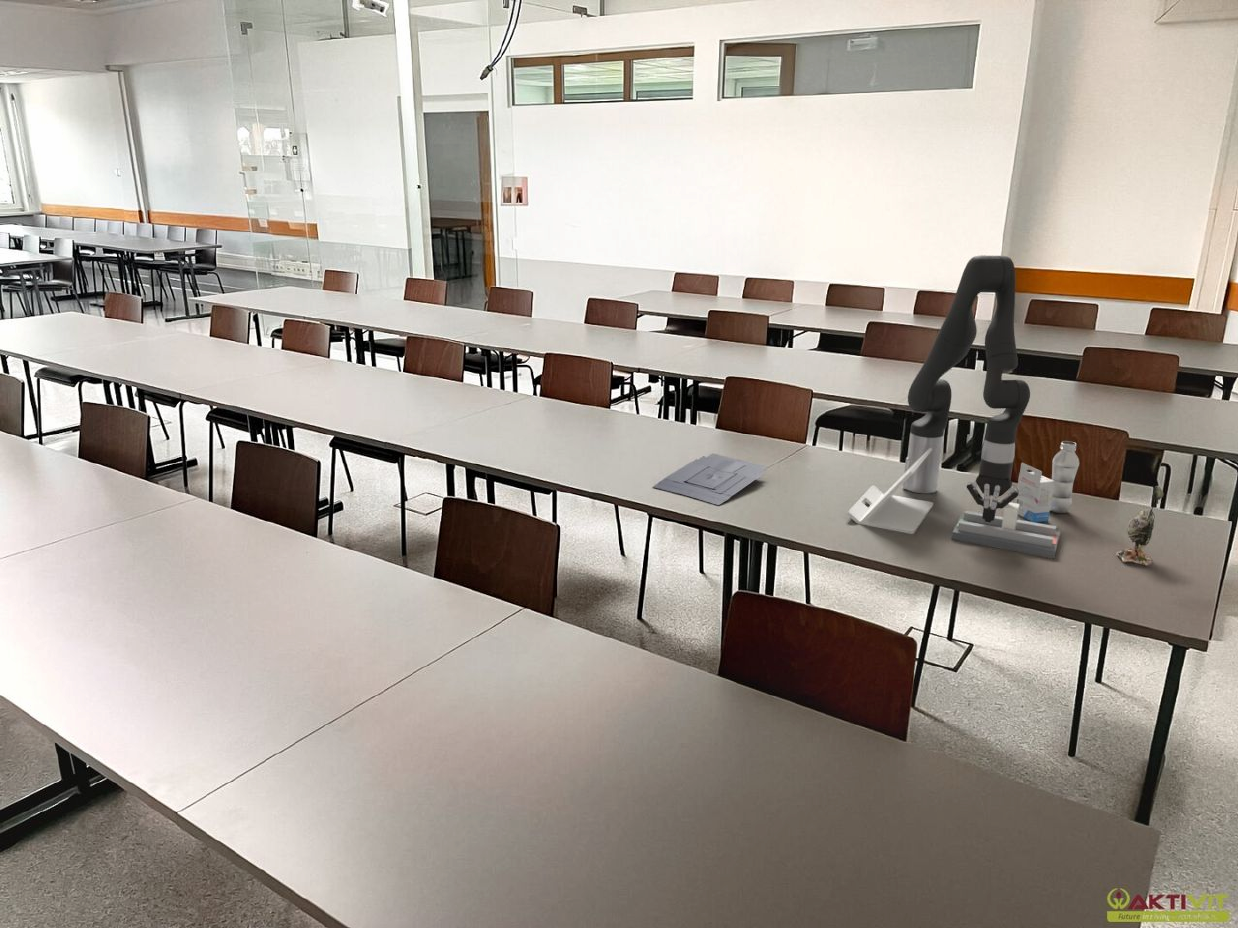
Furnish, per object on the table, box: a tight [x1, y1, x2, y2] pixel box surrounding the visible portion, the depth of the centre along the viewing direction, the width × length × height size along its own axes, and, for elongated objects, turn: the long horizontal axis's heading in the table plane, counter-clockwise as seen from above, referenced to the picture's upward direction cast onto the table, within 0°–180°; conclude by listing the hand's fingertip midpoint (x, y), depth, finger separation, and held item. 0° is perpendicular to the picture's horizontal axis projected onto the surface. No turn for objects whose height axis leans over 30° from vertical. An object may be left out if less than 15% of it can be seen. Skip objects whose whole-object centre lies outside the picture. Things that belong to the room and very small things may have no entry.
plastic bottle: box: [1050, 440, 1080, 514], centre depth 240 cm, size 6×7×20 cm
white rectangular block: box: [1002, 501, 1019, 530], centre depth 222 cm, size 3×4×7 cm
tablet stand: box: [846, 448, 934, 535], centre depth 239 cm, size 18×25×17 cm
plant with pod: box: [1116, 485, 1164, 567], centre depth 210 cm, size 8×11×20 cm
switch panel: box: [951, 510, 1061, 559], centre depth 224 cm, size 24×14×4 cm, turn 60°
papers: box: [652, 453, 769, 506], centre depth 264 cm, size 24×30×4 cm
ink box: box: [1014, 462, 1055, 523], centre depth 237 cm, size 8×5×15 cm, turn 14°
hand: (988, 521), depth 225 cm, fingers closed
